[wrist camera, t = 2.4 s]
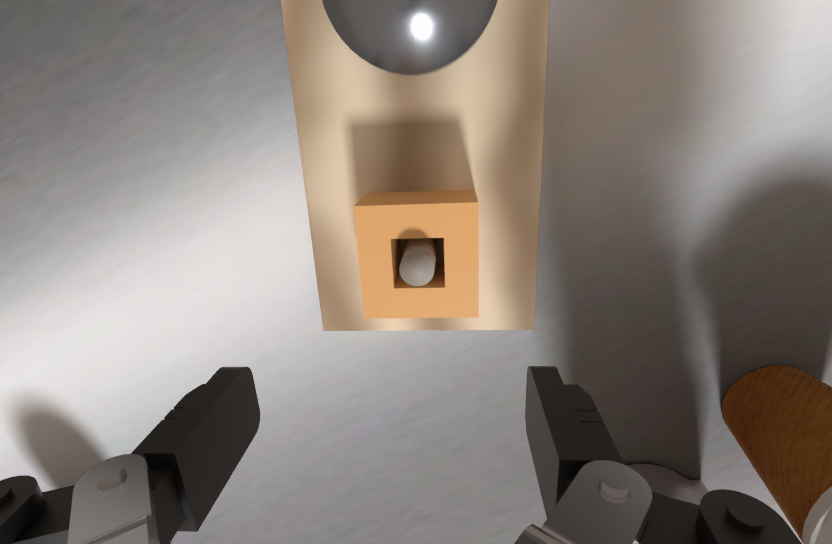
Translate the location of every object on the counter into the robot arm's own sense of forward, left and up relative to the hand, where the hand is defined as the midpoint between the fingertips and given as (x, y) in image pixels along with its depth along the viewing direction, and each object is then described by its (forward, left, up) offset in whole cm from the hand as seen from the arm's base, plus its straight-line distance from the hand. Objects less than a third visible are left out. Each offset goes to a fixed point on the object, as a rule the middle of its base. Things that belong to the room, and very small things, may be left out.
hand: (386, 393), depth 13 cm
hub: (0, -14, -16) cm, 21 cm away
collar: (0, 0, -16) cm, 16 cm away
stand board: (0, -7, -18) cm, 19 cm away
